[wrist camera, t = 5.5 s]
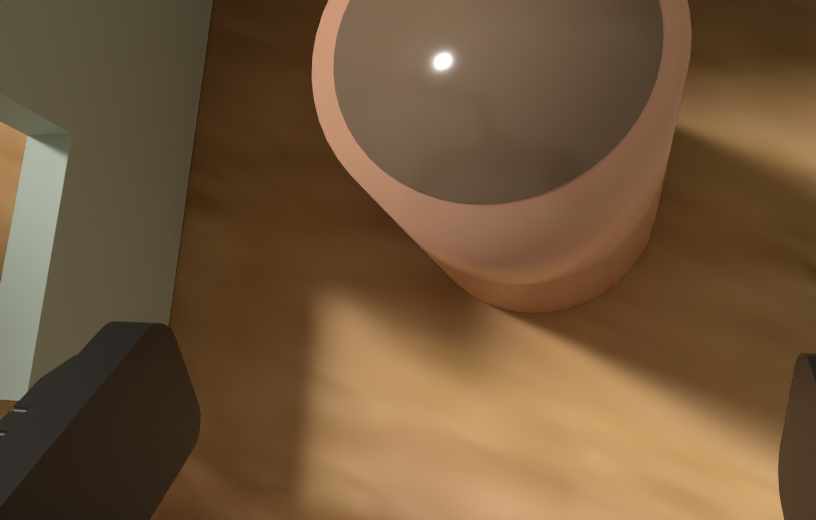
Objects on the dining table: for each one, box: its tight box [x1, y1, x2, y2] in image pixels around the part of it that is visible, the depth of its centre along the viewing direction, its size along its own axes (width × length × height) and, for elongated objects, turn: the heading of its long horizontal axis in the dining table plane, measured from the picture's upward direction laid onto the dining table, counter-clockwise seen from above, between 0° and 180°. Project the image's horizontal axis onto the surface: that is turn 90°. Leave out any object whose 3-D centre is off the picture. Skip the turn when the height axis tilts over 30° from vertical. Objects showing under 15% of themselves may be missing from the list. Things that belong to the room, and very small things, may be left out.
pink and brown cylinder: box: [312, 0, 692, 313], centre depth 16 cm, size 6×6×8 cm
